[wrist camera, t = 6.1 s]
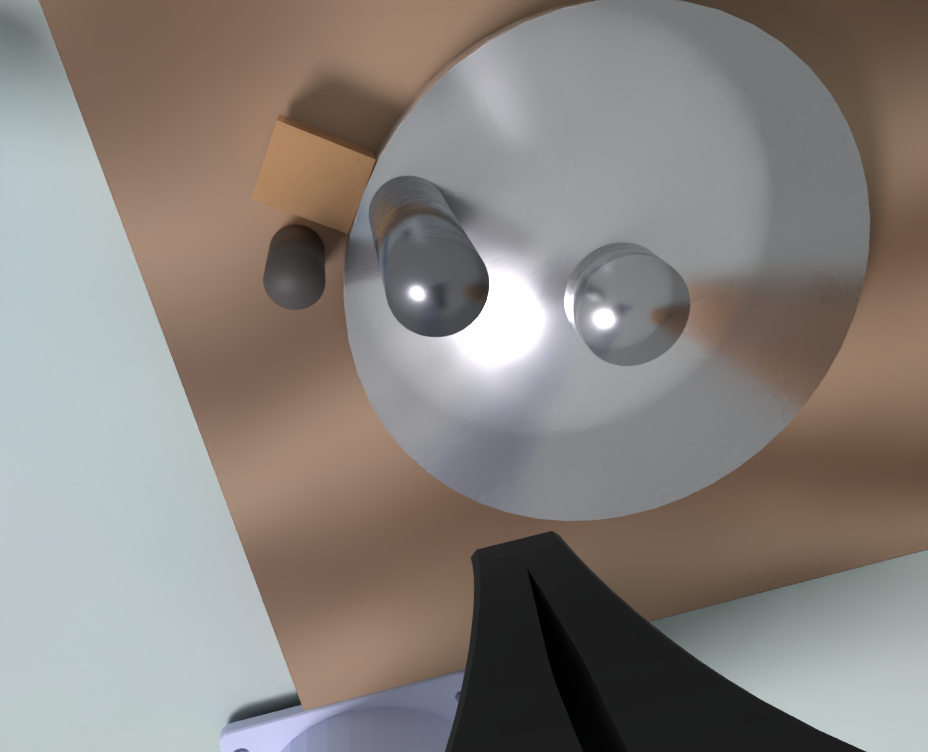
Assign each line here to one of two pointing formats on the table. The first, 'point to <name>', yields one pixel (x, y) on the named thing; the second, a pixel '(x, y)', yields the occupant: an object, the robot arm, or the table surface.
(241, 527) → the base board
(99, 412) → the table surface
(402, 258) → the flange
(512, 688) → the robot arm
